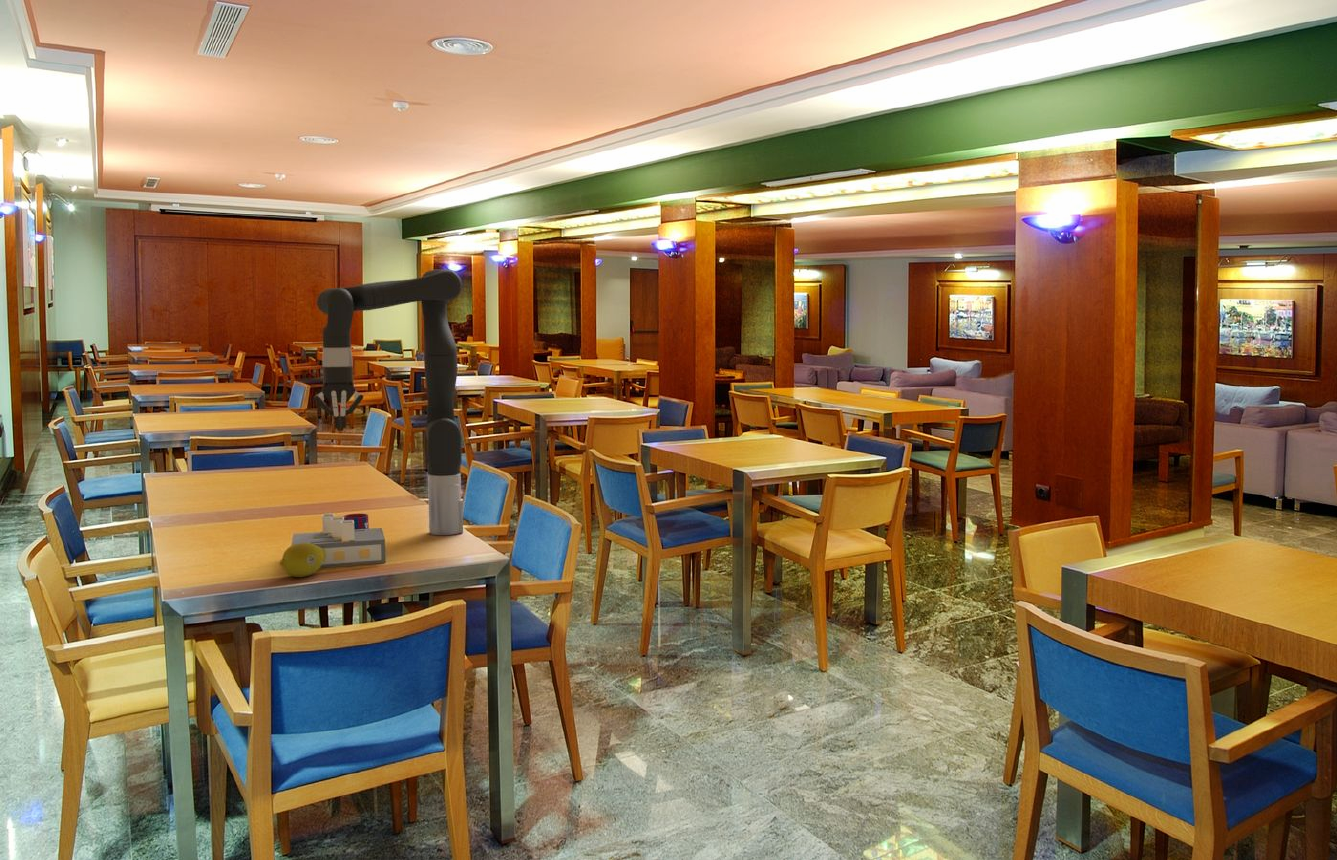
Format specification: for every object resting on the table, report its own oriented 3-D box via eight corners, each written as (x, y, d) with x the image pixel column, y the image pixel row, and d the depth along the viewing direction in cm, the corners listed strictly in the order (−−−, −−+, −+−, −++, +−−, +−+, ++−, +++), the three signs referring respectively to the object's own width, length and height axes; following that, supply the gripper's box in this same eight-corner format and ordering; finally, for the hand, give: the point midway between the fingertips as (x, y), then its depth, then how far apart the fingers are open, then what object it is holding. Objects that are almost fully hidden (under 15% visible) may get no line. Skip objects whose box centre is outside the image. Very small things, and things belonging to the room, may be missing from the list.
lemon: (284, 583, 227) (283, 549, 226) (276, 576, 233) (274, 543, 232) (331, 576, 233) (330, 543, 232) (322, 569, 239) (321, 537, 238)
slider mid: (344, 534, 251) (343, 516, 250) (344, 536, 248) (344, 518, 247) (332, 535, 250) (331, 516, 249) (332, 537, 247) (331, 519, 246)
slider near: (354, 537, 246) (353, 519, 246) (354, 540, 244) (354, 521, 243) (341, 538, 245) (341, 520, 245) (342, 541, 243) (341, 522, 242)
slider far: (335, 530, 255) (334, 512, 255) (335, 532, 252) (334, 515, 252) (322, 531, 254) (322, 513, 254) (322, 533, 251) (322, 515, 251)
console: (382, 550, 260) (381, 527, 260) (385, 563, 246) (385, 539, 245) (294, 556, 253) (293, 533, 252) (292, 570, 238) (291, 545, 238)
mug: (360, 542, 269) (359, 518, 268) (328, 540, 272) (327, 516, 271) (373, 537, 275) (373, 514, 275) (343, 535, 278) (342, 512, 278)
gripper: (363, 364, 262) (365, 428, 264) (311, 364, 258) (313, 429, 260) (364, 365, 255) (366, 430, 257) (310, 365, 251) (313, 432, 253)
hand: (340, 430), depth 258 cm, fingers closed
